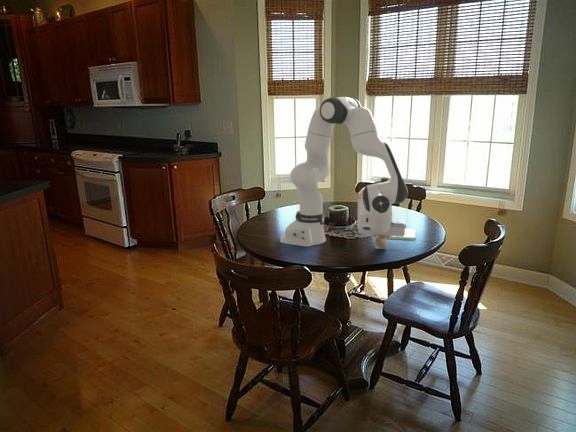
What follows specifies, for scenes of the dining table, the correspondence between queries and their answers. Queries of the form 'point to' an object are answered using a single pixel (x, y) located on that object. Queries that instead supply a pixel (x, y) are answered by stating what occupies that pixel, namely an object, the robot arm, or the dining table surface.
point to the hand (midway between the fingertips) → (381, 236)
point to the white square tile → (406, 235)
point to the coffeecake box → (361, 206)
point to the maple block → (380, 242)
